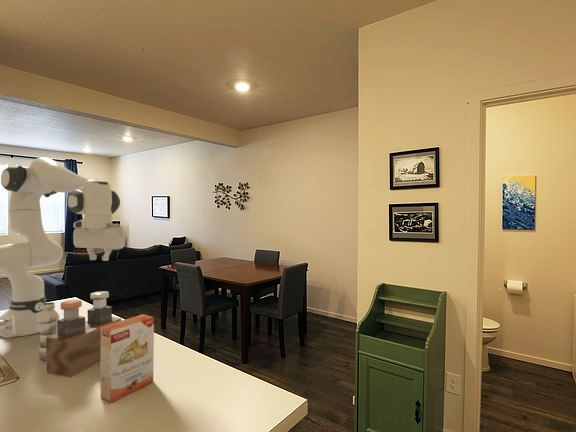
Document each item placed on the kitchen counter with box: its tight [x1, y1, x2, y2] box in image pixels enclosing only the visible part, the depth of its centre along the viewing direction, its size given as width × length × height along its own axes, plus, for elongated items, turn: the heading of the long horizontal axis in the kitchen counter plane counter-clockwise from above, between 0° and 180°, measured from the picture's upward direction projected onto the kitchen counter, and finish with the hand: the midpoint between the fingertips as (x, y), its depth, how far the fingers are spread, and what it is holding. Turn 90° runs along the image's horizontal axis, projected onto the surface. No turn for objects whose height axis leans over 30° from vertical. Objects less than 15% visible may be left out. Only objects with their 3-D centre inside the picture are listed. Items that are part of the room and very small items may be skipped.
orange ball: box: [60, 299, 83, 321], centre depth 112 cm, size 6×6×6 cm
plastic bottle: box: [37, 301, 60, 361], centre depth 120 cm, size 6×7×20 cm
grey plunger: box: [90, 290, 110, 310], centre depth 124 cm, size 6×6×6 cm
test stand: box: [46, 305, 122, 378], centre depth 118 cm, size 10×22×17 cm, turn 165°
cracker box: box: [100, 313, 155, 403], centre depth 100 cm, size 14×6×21 cm, turn 148°
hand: (99, 260), depth 123 cm, fingers open, 4 cm apart
